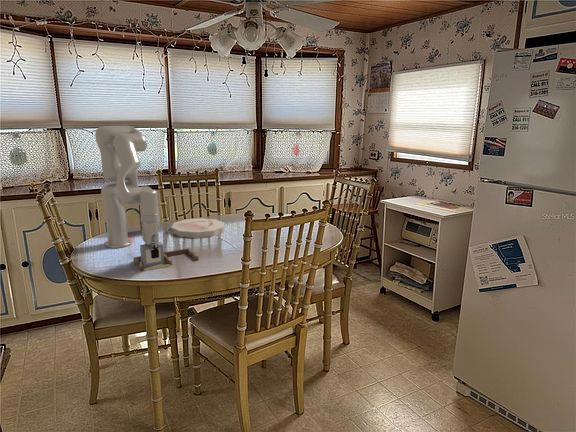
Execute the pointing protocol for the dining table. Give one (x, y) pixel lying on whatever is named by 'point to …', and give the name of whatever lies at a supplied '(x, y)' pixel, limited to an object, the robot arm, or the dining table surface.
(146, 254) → the pale gray rectangular prism
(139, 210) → the coffee box
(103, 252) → the dining table surface
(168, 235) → the dining table surface
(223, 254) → the dining table surface
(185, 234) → the decorative plaque
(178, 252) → the frame
